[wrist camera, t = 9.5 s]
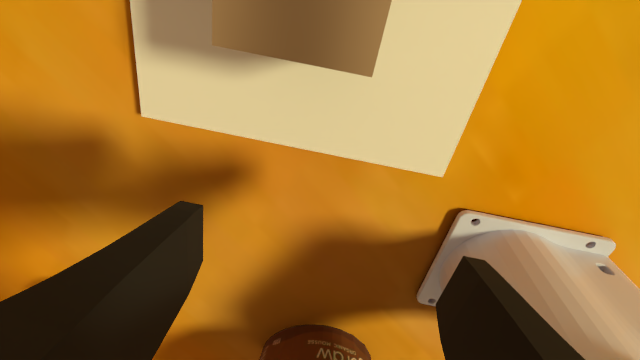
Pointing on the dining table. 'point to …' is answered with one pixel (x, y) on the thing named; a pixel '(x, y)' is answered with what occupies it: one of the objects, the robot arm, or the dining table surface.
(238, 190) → the dining table surface
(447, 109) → the cream mat
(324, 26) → the walnut block
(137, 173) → the dining table surface
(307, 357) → the food container
